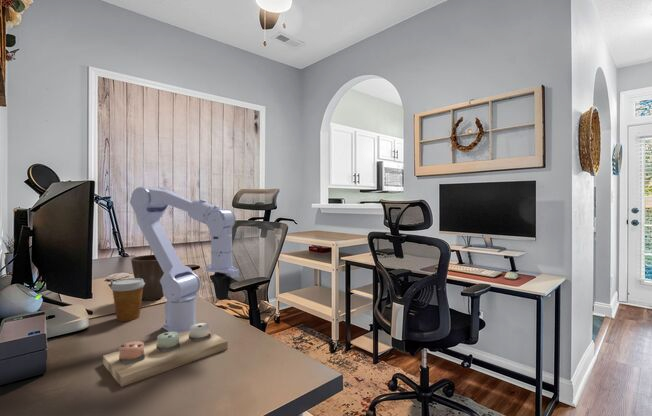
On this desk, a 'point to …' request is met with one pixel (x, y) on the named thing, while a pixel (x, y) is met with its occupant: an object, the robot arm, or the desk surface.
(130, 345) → the terracotta button
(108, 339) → the desk surface
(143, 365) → the button panel
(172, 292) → the robot arm
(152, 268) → the plant pot
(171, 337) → the sage button
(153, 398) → the desk surface
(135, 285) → the disposable coffee cup
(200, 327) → the off-white button
